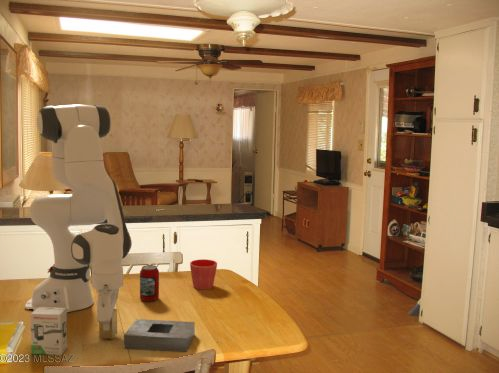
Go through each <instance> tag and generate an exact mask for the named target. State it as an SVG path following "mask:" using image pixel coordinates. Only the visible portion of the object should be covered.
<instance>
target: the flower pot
mask: <svg viewBox="0 0 499 373" xmlns="http://www.w3.org/2000/svg"><path fill="white" fill-rule="evenodd" d="M189 267H190V274H191V282H192V286H193V288H194V289H197V290H202V291H203V290H204V291H205V290H210V289H213V287H214V284H215V278H216V274H217V267H218V262H217V261H215V260H213V259H202V258H201V259H195V260H194V259H193V260H191V261H190V263H189Z"/></svg>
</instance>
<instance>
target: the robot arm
mask: <svg viewBox="0 0 499 373" xmlns="http://www.w3.org/2000/svg"><path fill="white" fill-rule="evenodd" d="M111 126H112V120H111V115H110V112H109V110H108V109H107V108H106V107H105V106H103V105H96V104H94V105H90V104H79V103H78V104H77V103H76V104H66V105H65V104H64V105H56V106H55V105H47V106H43V107H41V108H40V109H39V110H38V113H37V117H36V127H37V130H38V132H39V134H40V135H39V136H41V137H42V138H43V139H45V140H46V141H47V140H48V141H51V174H52V178H53V180H55V181H56V182H57V183H59V184H60V185H62V186H64V187H66V188H69V189H70V190H71V192H72V193H61V194H60V193H59V194H57V193H56V194H55V193H54V194H53V193H51V194H46V195H41V196H37V197H35V198H33V200H32V202H31V203H30V206H29V210H28V211H29V217H30V220H31V221H32V222H33V224H35V225H36V226H38V227H39V228H41V230H43V231H44V232H45V233H46V234H47V235H48V237H49V238H50V240H51V243H52V248H53V259H54V263H53V264H52V266H50V267H49V268H48V269H47V274H48V273H49V276H48V277H46V278H45V279H44V280H42V281H41V282H39V284H37V285H36V286H35V287H34V288H33V291H32V294H31V295H32V297H31V298H30V299H28V300H27V302H26V303H25V304H24V305H25V306H24V308H26V310H29V309H33V310H32V311H34V310H35V309H36V308H38V307H53V308H65V309H67V313H70V312H76V311H79V310H83V309H84V310H85V309H86V308H89V307H91V306H92V305H93V304H94V303H95V301H94V298H93V295H92V290H91V287H92V289H94V290H96V293H97V301H96V321H97V323H98V324H99V323H103V329H104V330H109V329H110V321H111V317H112V314H113V311H114V309H116V308H115V306H116V304H117V301H118V298H119V291H120V289H121V288H122V287H123V286H124V266H123V264H122V263H123V262H122V261H123V259H125V258H126V257H127V255H128V254H129V253H130V251H131V248H132V242H133V241H132V238H131V235H130V232H129V230H128V228H127V224H126V220H125V217H124V212H123V206H122V203H121V198H120V195H119V194H120V193H119V190H118V187H117V184H116V182H115V180H114V179H113V178H112V177H110V176H109V175H108V172H107V170H106V168H105V167H106V166H105V164H104V154H103V147H102V143H101V139H102V138H104V137H106V136H108V134H110V131H111ZM105 221H106V222H107V223H104V222H105ZM100 223H101V224H100ZM93 225H95V226H94V227H93V228H92V229H90V230H89V231H86V232H82V233H79V234H75V233H73V232H71V231H70V229H69V227H74V226H75V227H77V226H78V227H79V226H93ZM90 265H91V266H90ZM91 267H92V268H91ZM90 268H91V269H90ZM90 279H91V282H90ZM90 283H91V284H90Z"/></svg>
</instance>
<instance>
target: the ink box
mask: <svg viewBox="0 0 499 373" xmlns="http://www.w3.org/2000/svg"><path fill="white" fill-rule="evenodd" d="M67 314H68V312H67V309H65V308H53V307H38V308H36V309H35V310H32V312H31V313H30V354H31V355H49V356H50V355H52V356H53V355H54V356H57V355H58V356H61V355H62V354H63V353H64V352H65V351H66V350H67V349H68V324H67V323H68V320H67V319H68V315H67Z"/></svg>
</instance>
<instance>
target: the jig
mask: <svg viewBox="0 0 499 373" xmlns="http://www.w3.org/2000/svg"><path fill="white" fill-rule="evenodd" d="M195 324H196V323H195V321H180V320H162V319H161V320H160V319H141V318H136V319H135V321H134V322H133V323H132V324H131V326H130V327H129V328H128V330H126V332H125V333H124V335H123V349H125V350H126V349H128V350H143V351H144V350H145V351H160V352H161V351H162V352H179V353H181V352H182V353H187V352H188V350H189V348H190V346H191V343H192V341H193V339H194V336H195V333H196V332H195V330H196V329H195V328H196V327H195V326H196V325H195Z"/></svg>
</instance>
